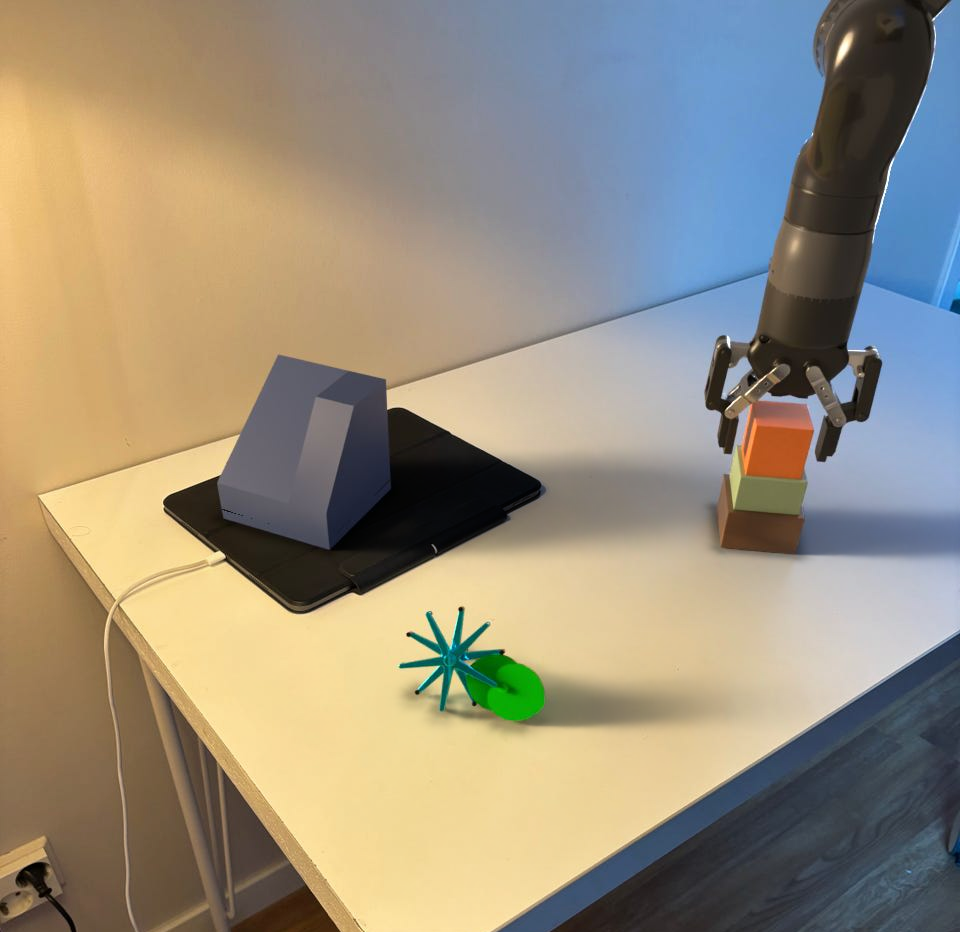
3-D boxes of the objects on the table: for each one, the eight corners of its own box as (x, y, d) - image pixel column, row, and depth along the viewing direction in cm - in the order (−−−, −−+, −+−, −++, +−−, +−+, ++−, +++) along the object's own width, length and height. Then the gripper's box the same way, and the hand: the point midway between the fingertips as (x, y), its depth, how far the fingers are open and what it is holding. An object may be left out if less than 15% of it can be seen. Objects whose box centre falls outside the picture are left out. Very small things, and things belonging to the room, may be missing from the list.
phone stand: (223, 518, 96) (203, 405, 88) (291, 461, 104) (278, 354, 97) (329, 549, 92) (318, 435, 85) (390, 488, 101) (385, 379, 93)
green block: (791, 481, 96) (800, 449, 93) (799, 515, 91) (808, 482, 89) (729, 476, 96) (736, 444, 94) (733, 510, 92) (740, 477, 89)
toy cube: (794, 452, 93) (807, 403, 90) (801, 479, 89) (814, 430, 86) (741, 448, 93) (751, 399, 90) (745, 475, 90) (756, 425, 86)
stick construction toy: (379, 680, 75) (424, 590, 74) (400, 668, 82) (441, 586, 81) (517, 755, 74) (565, 665, 73) (527, 737, 81) (571, 654, 80)
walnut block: (787, 514, 98) (796, 479, 96) (795, 554, 93) (805, 519, 91) (716, 508, 99) (723, 473, 96) (720, 547, 94) (728, 512, 91)
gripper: (729, 289, 78) (696, 468, 88) (915, 301, 77) (859, 481, 87) (724, 256, 84) (693, 428, 94) (897, 266, 82) (846, 440, 93)
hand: (773, 453), depth 91 cm, fingers open, 8 cm apart
